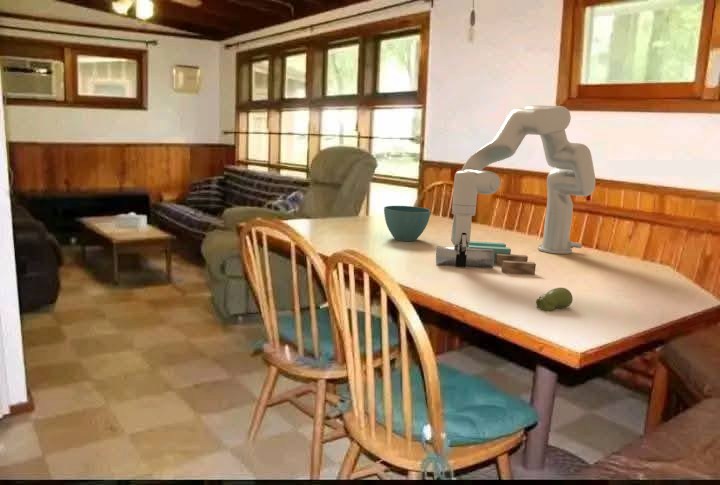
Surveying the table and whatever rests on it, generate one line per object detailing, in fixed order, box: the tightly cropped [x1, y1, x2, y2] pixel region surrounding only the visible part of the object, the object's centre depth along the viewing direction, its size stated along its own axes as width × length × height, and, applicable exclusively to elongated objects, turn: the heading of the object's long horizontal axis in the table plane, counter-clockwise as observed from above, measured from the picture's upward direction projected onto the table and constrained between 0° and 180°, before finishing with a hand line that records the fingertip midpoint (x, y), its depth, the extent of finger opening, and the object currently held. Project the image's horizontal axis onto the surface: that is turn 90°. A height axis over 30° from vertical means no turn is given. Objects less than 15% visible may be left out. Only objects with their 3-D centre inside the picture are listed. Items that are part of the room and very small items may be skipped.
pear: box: [535, 287, 573, 312], centre depth 151 cm, size 6×5×10 cm
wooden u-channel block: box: [494, 253, 537, 276], centre depth 192 cm, size 10×13×4 cm
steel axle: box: [435, 245, 495, 269], centre depth 192 cm, size 18×6×6 cm, turn 88°
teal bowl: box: [383, 205, 431, 242], centre depth 232 cm, size 18×18×12 cm
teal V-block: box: [467, 240, 512, 264], centre depth 204 cm, size 14×11×5 cm
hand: (459, 263), depth 192 cm, fingers closed on steel axle, 6 cm apart
